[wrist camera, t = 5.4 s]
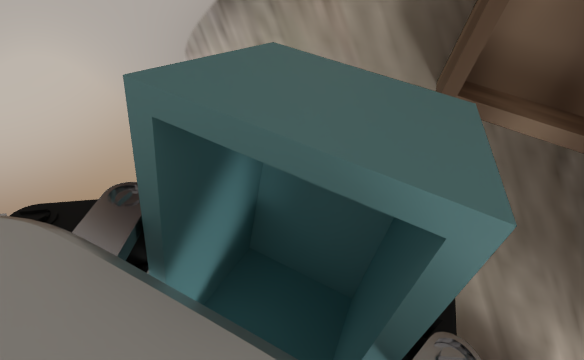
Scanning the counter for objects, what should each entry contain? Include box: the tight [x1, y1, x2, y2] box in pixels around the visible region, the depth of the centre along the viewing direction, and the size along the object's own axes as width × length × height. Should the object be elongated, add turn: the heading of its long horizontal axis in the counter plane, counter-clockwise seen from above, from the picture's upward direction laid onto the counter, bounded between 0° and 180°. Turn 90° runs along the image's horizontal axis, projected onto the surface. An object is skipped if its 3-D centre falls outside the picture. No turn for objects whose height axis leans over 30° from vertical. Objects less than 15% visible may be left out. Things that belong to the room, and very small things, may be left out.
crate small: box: [123, 42, 517, 360], centre depth 10 cm, size 7×10×6 cm, turn 168°
